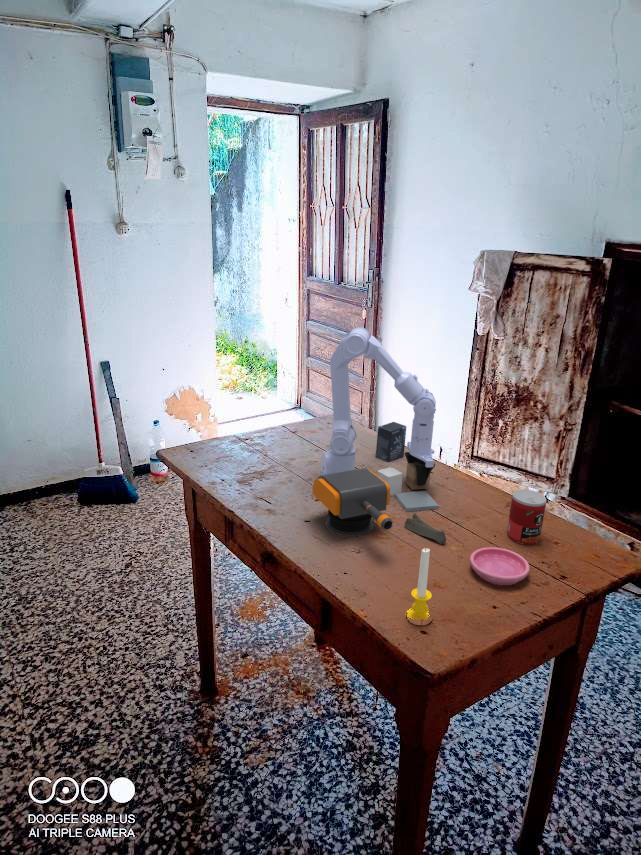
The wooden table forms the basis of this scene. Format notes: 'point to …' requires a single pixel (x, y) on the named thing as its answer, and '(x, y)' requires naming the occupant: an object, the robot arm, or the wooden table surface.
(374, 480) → the sander
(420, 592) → the candle
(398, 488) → the grey block
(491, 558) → the saucer
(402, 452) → the box
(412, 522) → the bone
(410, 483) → the walnut block
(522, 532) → the canned food
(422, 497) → the coaster
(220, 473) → the wooden table surface
